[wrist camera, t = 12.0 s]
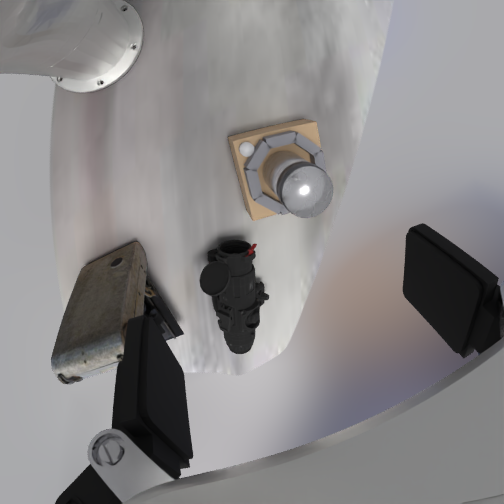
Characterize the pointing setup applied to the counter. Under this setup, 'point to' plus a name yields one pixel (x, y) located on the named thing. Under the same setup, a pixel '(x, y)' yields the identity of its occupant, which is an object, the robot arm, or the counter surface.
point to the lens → (298, 184)
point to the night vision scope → (234, 292)
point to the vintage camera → (107, 314)
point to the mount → (260, 149)
